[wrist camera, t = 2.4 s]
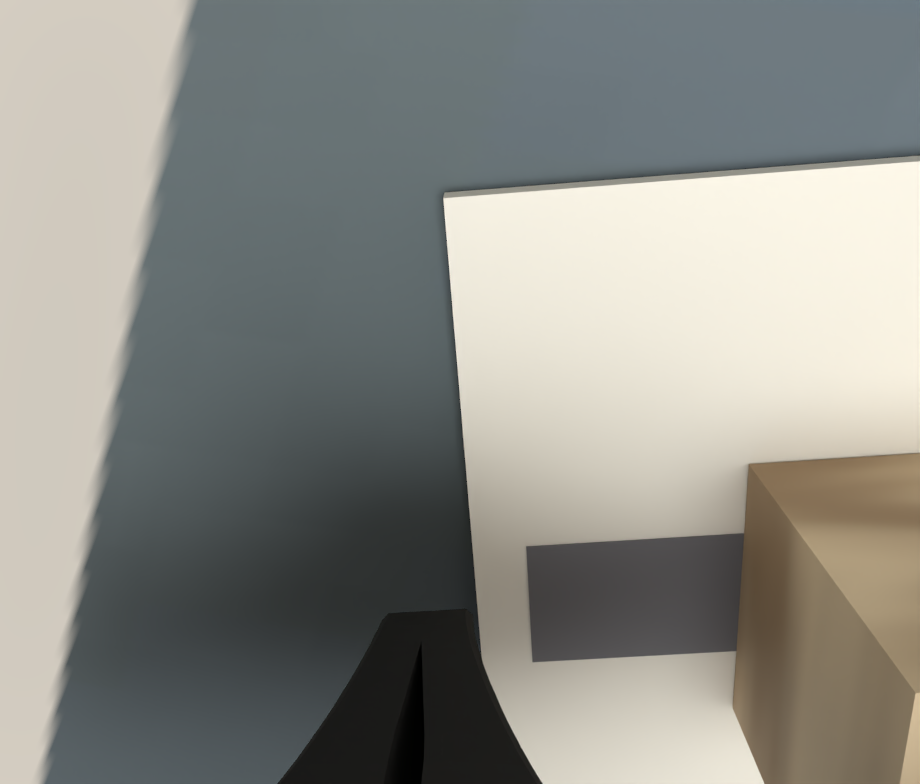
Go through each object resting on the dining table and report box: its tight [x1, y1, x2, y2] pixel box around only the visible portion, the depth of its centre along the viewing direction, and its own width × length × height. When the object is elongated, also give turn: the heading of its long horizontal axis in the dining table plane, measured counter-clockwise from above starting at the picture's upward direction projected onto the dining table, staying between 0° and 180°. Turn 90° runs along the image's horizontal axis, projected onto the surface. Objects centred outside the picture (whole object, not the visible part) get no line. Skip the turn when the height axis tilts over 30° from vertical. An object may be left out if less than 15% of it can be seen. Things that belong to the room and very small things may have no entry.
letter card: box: [443, 156, 920, 784], centre depth 14 cm, size 14×14×1 cm
